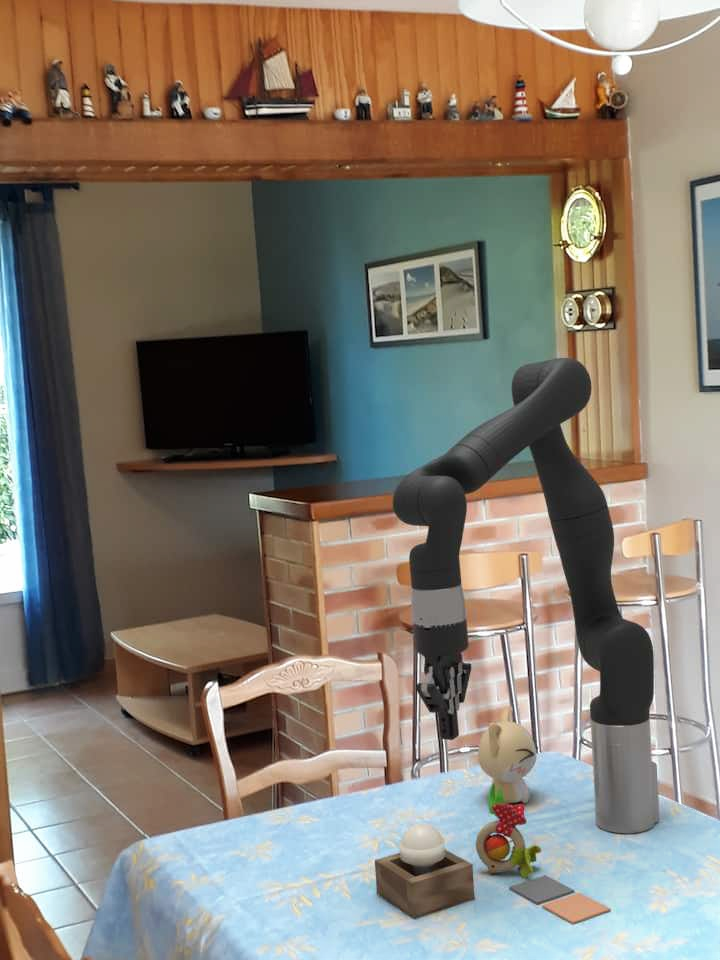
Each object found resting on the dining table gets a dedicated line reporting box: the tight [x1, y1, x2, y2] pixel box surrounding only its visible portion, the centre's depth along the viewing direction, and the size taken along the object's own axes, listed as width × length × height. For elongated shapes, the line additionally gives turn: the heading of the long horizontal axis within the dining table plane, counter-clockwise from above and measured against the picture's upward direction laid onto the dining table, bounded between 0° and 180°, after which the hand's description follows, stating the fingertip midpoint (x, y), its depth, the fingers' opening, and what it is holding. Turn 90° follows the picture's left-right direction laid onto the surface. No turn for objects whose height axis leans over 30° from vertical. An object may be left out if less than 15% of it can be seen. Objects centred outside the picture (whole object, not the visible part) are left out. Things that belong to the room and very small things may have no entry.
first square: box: [508, 874, 575, 905], centre depth 168 cm, size 6×6×1 cm
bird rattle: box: [475, 803, 542, 879], centre depth 174 cm, size 6×11×9 cm
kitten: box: [477, 706, 539, 817], centre depth 204 cm, size 15×10×15 cm
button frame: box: [374, 849, 476, 920], centre depth 168 cm, size 10×10×5 cm
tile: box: [541, 892, 612, 925], centre depth 162 cm, size 6×6×1 cm
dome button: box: [398, 822, 446, 877], centre depth 168 cm, size 6×6×7 cm
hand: (449, 737), depth 168 cm, fingers closed
